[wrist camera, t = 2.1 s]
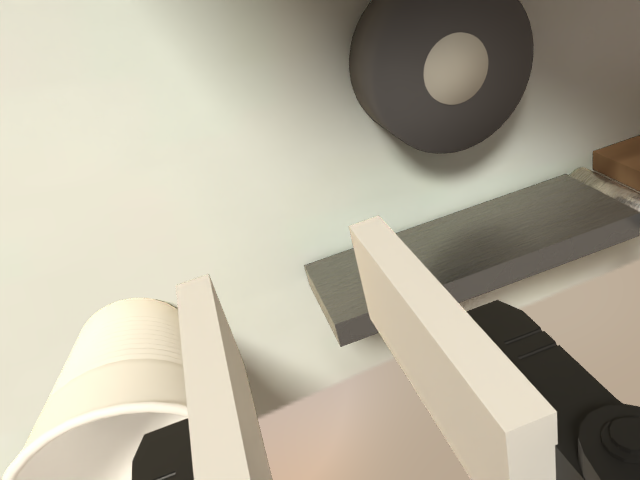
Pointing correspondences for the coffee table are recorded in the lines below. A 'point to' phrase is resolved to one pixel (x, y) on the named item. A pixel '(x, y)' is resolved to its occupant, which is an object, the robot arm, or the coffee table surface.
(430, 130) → the coil
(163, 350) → the cup
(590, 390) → the robot arm
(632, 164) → the bay
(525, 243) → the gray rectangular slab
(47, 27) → the coffee table surface
